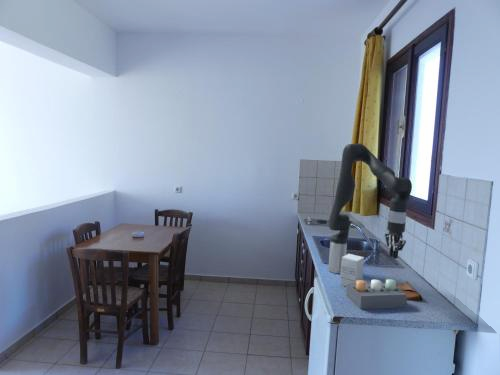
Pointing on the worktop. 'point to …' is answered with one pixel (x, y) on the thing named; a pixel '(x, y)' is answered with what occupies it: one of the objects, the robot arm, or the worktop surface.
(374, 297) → the grey holder tray
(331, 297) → the worktop surface
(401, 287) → the sunglasses case
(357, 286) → the beige rounded piece
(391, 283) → the mint green oval piece
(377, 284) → the white egg-shaped piece
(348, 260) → the supplement box
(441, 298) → the worktop surface
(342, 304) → the worktop surface
